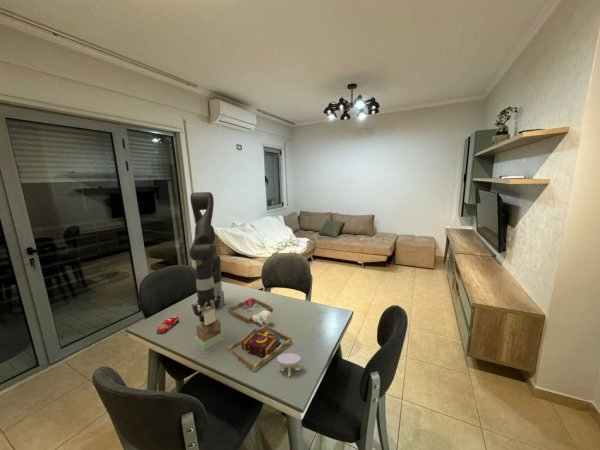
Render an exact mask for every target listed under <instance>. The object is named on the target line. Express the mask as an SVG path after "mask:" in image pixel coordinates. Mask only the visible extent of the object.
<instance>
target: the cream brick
mask: <svg viewBox="0 0 600 450" xmlns="http://www.w3.org/2000/svg"><path fill="white" fill-rule="evenodd" d="M215 313H216V310H215V309H214V308H212V307H210V306H209V307H207V308H206V309H205V311H204V315H203V316H204V323H203V324H205V325H208V324H210V323H212V322H214V321H216V319H217V318H216V316H215Z"/></svg>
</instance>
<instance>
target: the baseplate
mask: <svg viewBox="0 0 600 450" xmlns="http://www.w3.org/2000/svg"><path fill="white" fill-rule="evenodd" d="M227 342H228V340H227V339H226V338H224V337H223V341H222V342H220V343H218V344H216V345H215V346H213V347H211V348H209V349H208V350H206V351H203V350H202V349H201V348H200V347H199V346H197V345H196V341H193V342H192V343H191V344H192V345H193V346H194V347H195V348H196V349H198V351H200V352H201V353H202V354H203V355H206V354H208V353H211V352H212V351H213V350H215V349H217V348H218V347H220V346H222V345H224V344H226V343H227Z"/></svg>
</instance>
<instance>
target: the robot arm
mask: <svg viewBox="0 0 600 450" xmlns="http://www.w3.org/2000/svg"><path fill="white" fill-rule="evenodd" d="M214 201H215V199H214V195H213V194H212V192H209V191H205V192H204V191H203V192H201V191H200V192H199V191H197V192H192V193H191V194H190V205H191V209H192V213H193V216H194V222H195V227H194V239H193V242H192V244H191V247H190V250H189V257H190V259H191V260H192V261H200V264H197V265H196V266H195V275H196V276H195V278H196V280H195V281H196V282H195V284H196V296H197V301H196V302H195V303H192V304H191V308H192V310H193V311H192V312H193V313H194V315H195V316H196V317H198V319H199V322H201V323H204V316H203V315H204V311H205V309H206V308H207V307H209V306H210V307H212V308H214V309H215V311H216V310H219V309H221V308H223V307H224V306H225V296H224V294H225V293H224V290H223V286H222V285H223V283H222V271H221V270H222V269H221V268H222V267H221V265H222V263H221V262H222V261H221V256H220V255H218V254H217V255H216V248H215V246H214V245H213V244H214V242H215V240H216V234H215V228H214V227H213V225H212V220H213V214H214V213H213V212H214V208H215V207H214V205H215V204H214V203H215V202H214ZM201 211H205V212H204V213H203V214H202V212H201ZM216 316H217V314H216V312H215V317H216Z"/></svg>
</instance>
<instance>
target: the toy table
mask: <svg viewBox="0 0 600 450" xmlns="http://www.w3.org/2000/svg"><path fill="white" fill-rule="evenodd" d="M301 360H302V359H301V356H300V355H299V354H296V353H294V352H293V353H291V352H290V353H289V352H287V353H281V354H279V355H278V356H277V358H276V363H278V365H280V366H279V367H278V371H279V370H281V369H284V370H285V371H286V369H287V378H288V377H289V376H290V377H291V368H293V370H294V369H296V368H300V369H301V366H300V365H298V364H300V363H301Z"/></svg>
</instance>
